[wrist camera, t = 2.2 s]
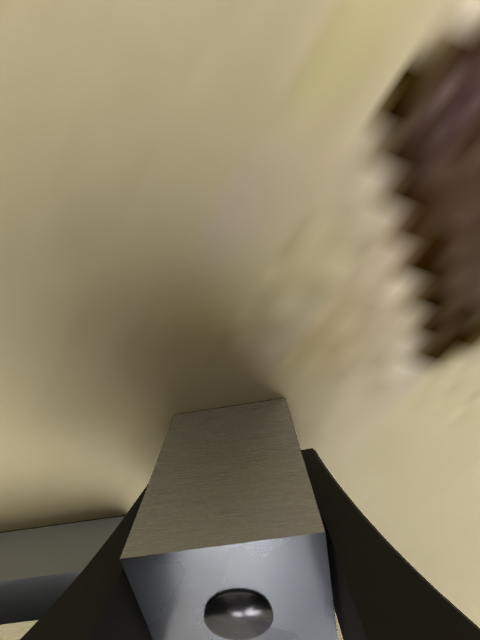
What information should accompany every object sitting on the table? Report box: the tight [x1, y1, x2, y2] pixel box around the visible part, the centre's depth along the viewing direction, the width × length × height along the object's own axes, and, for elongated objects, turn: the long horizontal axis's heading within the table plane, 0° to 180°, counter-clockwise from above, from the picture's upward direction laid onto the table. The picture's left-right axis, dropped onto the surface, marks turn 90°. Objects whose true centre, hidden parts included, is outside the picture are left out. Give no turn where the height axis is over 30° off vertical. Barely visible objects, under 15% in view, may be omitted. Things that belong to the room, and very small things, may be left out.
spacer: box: [120, 398, 338, 640], centre depth 8 cm, size 4×4×5 cm
